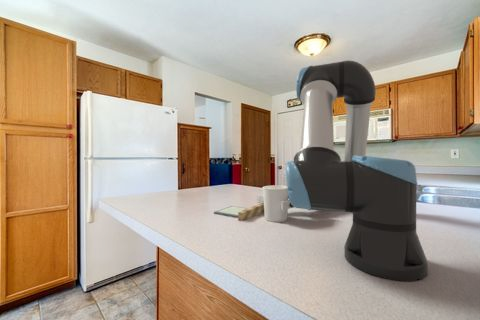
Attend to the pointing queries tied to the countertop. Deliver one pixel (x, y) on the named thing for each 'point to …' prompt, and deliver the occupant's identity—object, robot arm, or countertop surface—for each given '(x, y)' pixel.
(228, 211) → the square tile
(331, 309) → the countertop surface
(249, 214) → the brown wooden bar
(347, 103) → the robot arm
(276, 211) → the candle holder
